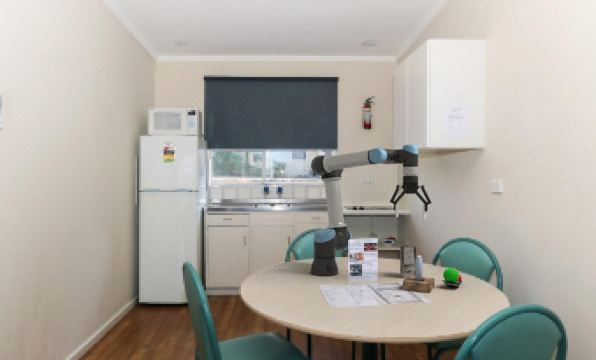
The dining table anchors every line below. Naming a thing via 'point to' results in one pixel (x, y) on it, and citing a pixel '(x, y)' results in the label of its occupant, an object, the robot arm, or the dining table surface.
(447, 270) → the toy
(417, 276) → the needle dowel
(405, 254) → the coffee box
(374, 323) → the dining table surface
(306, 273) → the dining table surface
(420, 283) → the bead block
